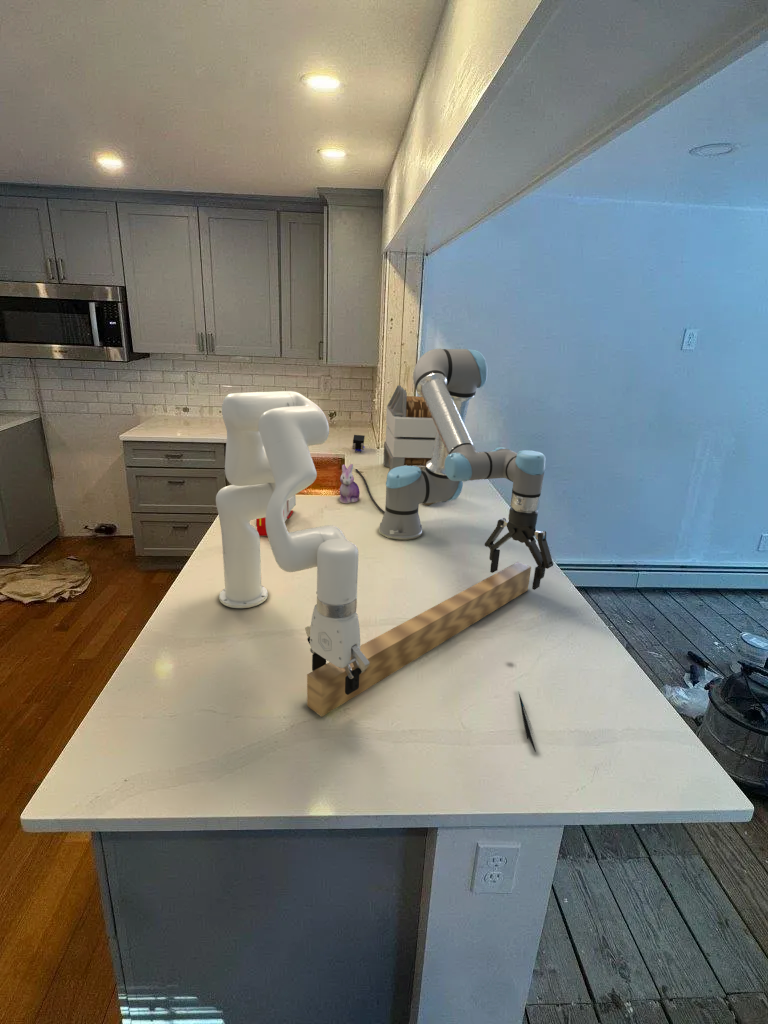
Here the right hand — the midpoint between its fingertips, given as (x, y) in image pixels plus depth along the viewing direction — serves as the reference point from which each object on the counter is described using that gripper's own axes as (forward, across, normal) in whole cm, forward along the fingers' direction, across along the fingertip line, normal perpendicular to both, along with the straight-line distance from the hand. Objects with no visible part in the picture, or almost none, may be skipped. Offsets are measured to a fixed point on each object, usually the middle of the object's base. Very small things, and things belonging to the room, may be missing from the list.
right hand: (514, 579), depth 160 cm
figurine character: (+6, -148, +83) cm, 169 cm away
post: (+4, 0, -34) cm, 34 cm away
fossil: (+5, -68, +49) cm, 84 cm away
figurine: (+5, -89, +20) cm, 91 cm away
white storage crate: (+5, -97, +75) cm, 123 cm away
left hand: (-1, 0, -68) cm, 68 cm away
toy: (+5, -88, -17) cm, 90 cm away
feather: (+4, +27, -41) cm, 50 cm away
